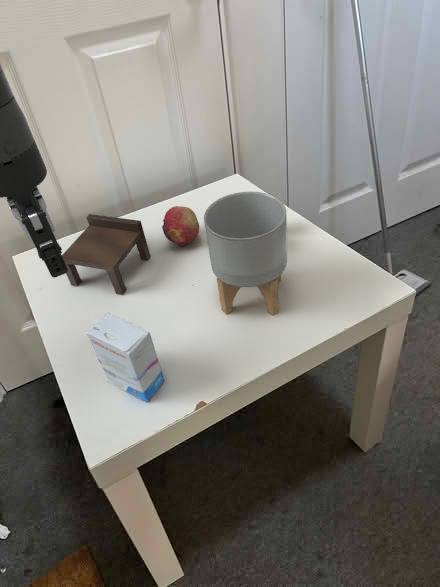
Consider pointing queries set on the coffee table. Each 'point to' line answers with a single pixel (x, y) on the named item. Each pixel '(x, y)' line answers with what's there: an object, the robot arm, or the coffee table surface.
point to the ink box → (126, 356)
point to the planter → (247, 245)
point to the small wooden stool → (105, 248)
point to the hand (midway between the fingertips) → (52, 257)
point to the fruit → (180, 225)
